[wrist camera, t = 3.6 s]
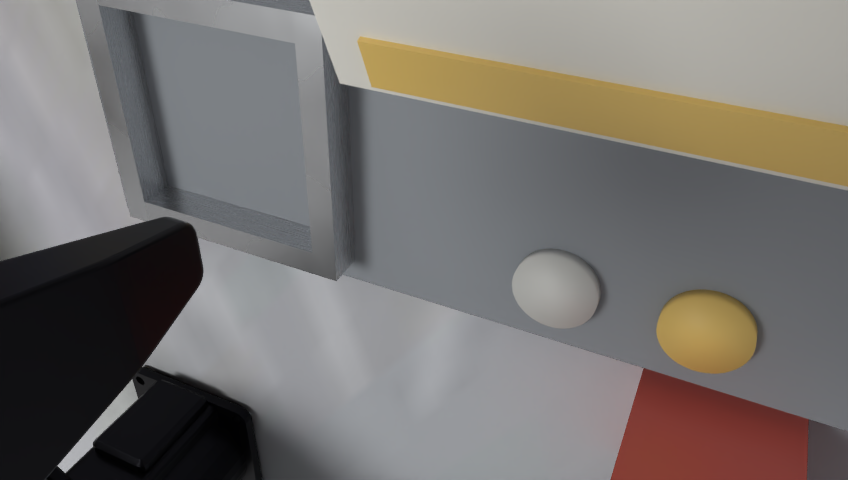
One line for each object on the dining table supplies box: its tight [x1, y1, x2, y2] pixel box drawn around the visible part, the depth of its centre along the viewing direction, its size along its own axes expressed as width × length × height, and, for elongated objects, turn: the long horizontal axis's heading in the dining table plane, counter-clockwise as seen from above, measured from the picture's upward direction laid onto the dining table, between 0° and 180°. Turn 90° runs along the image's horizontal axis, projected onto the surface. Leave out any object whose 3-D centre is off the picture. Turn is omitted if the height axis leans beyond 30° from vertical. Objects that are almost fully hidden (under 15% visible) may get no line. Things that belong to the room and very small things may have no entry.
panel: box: [76, 0, 848, 431], centre depth 17 cm, size 17×24×3 cm
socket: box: [77, 0, 356, 281], centre depth 22 cm, size 8×8×1 cm
